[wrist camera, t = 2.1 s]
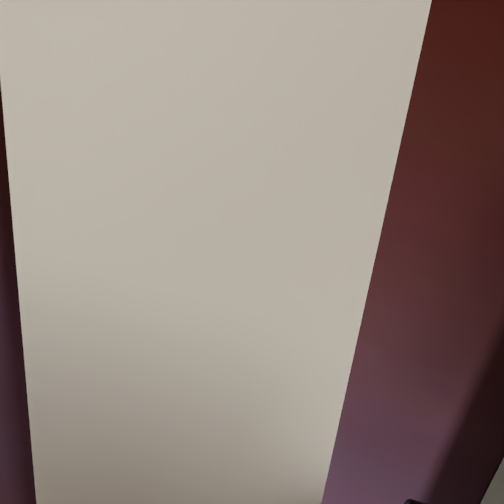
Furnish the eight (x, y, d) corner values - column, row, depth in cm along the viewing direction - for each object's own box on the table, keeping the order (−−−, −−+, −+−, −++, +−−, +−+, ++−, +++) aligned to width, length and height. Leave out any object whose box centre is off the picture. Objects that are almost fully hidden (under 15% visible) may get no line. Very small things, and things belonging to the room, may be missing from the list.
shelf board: (286, 603, 14) (270, 731, 11) (105, 551, 15) (49, 657, 12) (404, 27, 8) (432, -6, 5) (99, -2, 9) (-10, -41, 6)
